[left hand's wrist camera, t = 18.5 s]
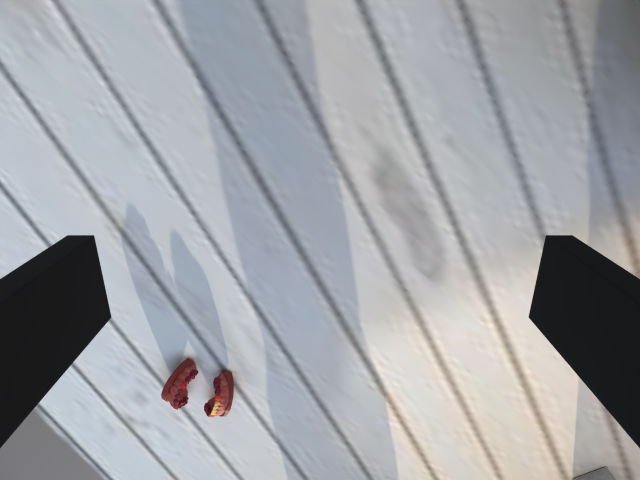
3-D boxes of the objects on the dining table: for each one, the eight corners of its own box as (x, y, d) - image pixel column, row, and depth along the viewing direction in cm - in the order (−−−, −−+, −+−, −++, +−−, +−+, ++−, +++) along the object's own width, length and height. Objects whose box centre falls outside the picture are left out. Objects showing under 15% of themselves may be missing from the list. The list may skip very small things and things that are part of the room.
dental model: (221, 434, 49) (154, 413, 48) (228, 408, 53) (166, 388, 52) (236, 397, 48) (166, 375, 47) (242, 373, 52) (178, 352, 51)
